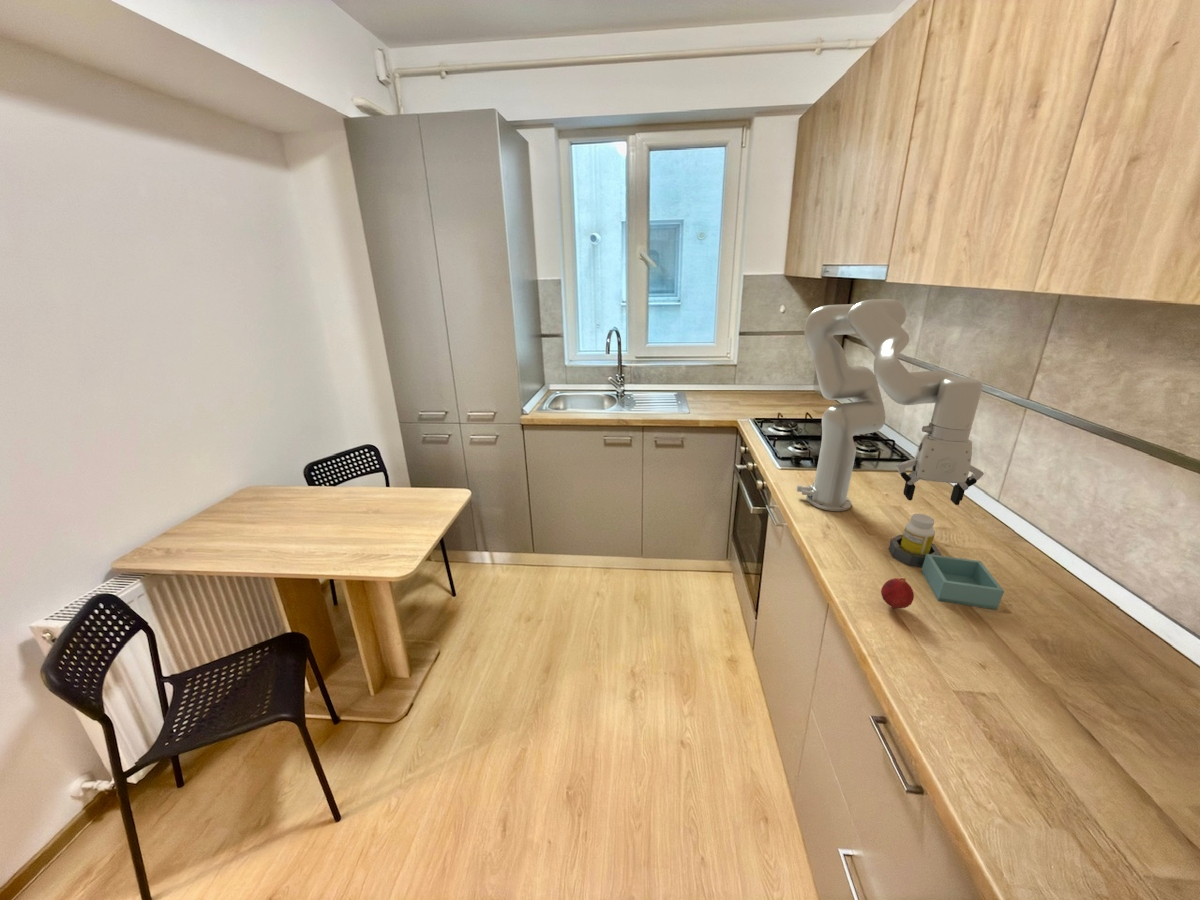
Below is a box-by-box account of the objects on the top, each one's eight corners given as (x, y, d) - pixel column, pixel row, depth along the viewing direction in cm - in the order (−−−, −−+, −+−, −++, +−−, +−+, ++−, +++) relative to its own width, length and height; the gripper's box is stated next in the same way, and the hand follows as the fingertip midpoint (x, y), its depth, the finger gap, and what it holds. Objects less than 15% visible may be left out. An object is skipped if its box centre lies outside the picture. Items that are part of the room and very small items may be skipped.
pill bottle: (918, 549, 121) (929, 512, 117) (932, 564, 115) (944, 525, 111) (893, 548, 122) (903, 511, 117) (905, 562, 116) (916, 524, 112)
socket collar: (896, 564, 115) (898, 554, 114) (885, 542, 124) (887, 532, 123) (942, 570, 113) (945, 560, 111) (928, 548, 122) (931, 538, 120)
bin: (937, 600, 103) (944, 582, 101) (921, 571, 113) (926, 553, 111) (996, 610, 100) (1004, 590, 98) (974, 578, 110) (980, 561, 108)
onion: (880, 612, 99) (888, 582, 96) (876, 596, 104) (884, 566, 101) (911, 619, 97) (921, 588, 94) (906, 602, 102) (915, 572, 99)
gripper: (910, 434, 105) (894, 503, 111) (1002, 440, 100) (980, 511, 106) (900, 425, 111) (886, 489, 117) (985, 430, 107) (966, 497, 113)
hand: (930, 500), depth 112 cm, fingers open, 9 cm apart
